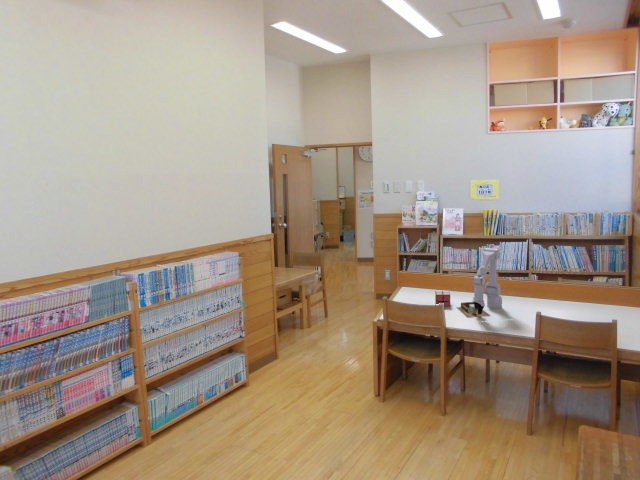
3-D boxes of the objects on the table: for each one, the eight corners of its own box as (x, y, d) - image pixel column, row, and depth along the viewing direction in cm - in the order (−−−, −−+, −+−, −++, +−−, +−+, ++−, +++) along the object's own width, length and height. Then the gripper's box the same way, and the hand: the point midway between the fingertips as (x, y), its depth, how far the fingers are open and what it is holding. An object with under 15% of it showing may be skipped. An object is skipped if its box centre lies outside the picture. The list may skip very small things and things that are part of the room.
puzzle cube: (450, 308, 334) (450, 294, 332) (436, 307, 336) (435, 294, 334) (449, 303, 343) (449, 290, 342) (435, 303, 346) (435, 290, 344)
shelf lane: (477, 306, 333) (477, 301, 332) (490, 317, 311) (490, 310, 311) (455, 308, 332) (455, 302, 331) (467, 318, 310) (467, 312, 310)
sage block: (476, 310, 322) (476, 303, 321) (483, 317, 310) (483, 309, 309) (469, 311, 322) (469, 303, 321) (475, 317, 310) (476, 309, 309)
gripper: (468, 291, 316) (468, 310, 318) (477, 297, 301) (477, 317, 304) (479, 290, 316) (478, 309, 318) (487, 296, 302) (487, 316, 304)
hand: (478, 313), depth 311 cm, fingers closed on sage block, 3 cm apart
